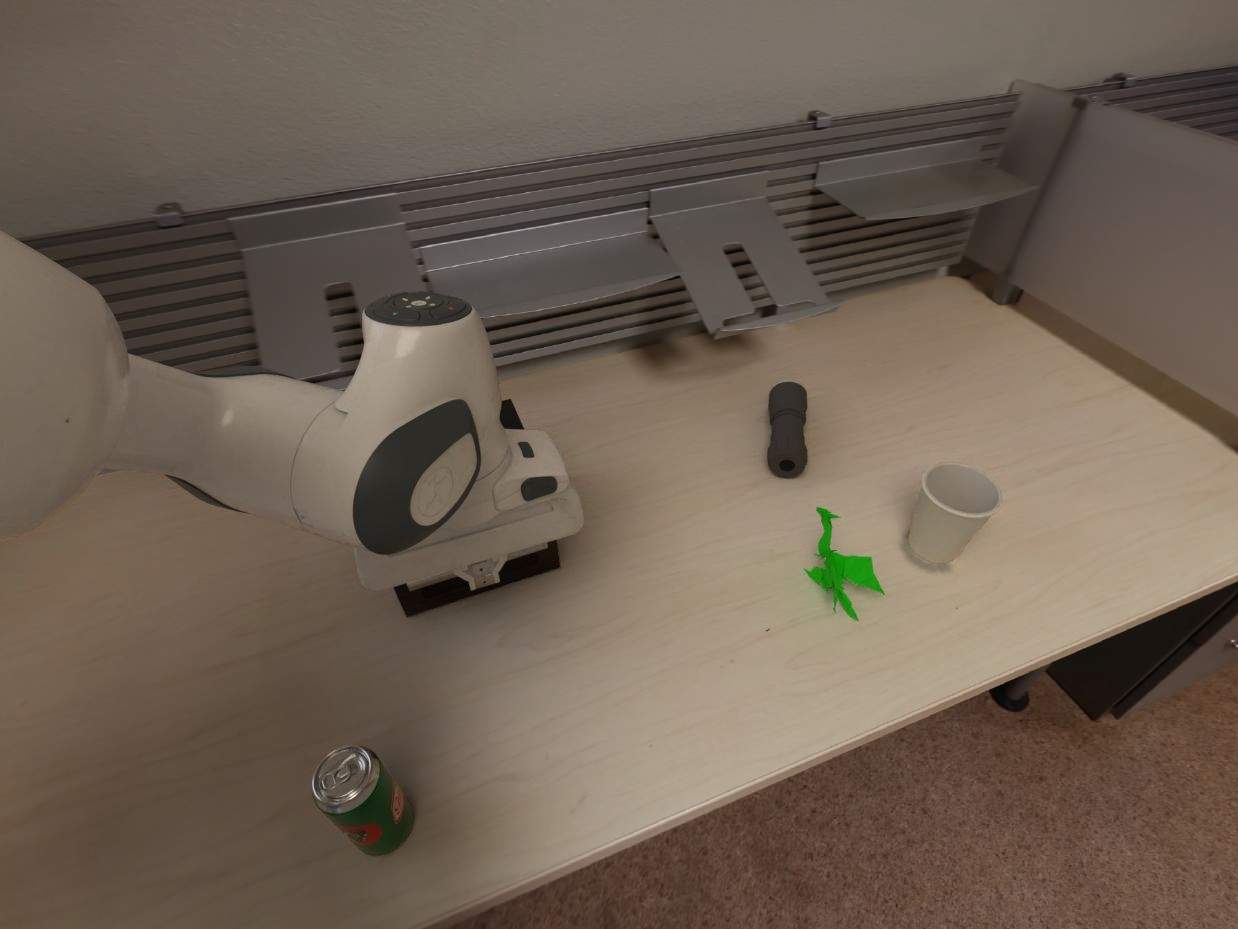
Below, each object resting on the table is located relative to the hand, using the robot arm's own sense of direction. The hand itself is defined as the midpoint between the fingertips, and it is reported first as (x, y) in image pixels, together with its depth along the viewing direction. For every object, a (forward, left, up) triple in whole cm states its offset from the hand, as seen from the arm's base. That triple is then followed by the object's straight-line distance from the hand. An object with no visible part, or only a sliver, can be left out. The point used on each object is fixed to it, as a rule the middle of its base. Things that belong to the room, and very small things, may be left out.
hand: (484, 581), depth 63 cm
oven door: (+3, +3, -10) cm, 11 cm away
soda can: (-20, -3, -10) cm, 23 cm away
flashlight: (+45, -16, -10) cm, 49 cm away
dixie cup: (+36, -38, -10) cm, 53 cm away
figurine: (+24, -29, -10) cm, 39 cm away
